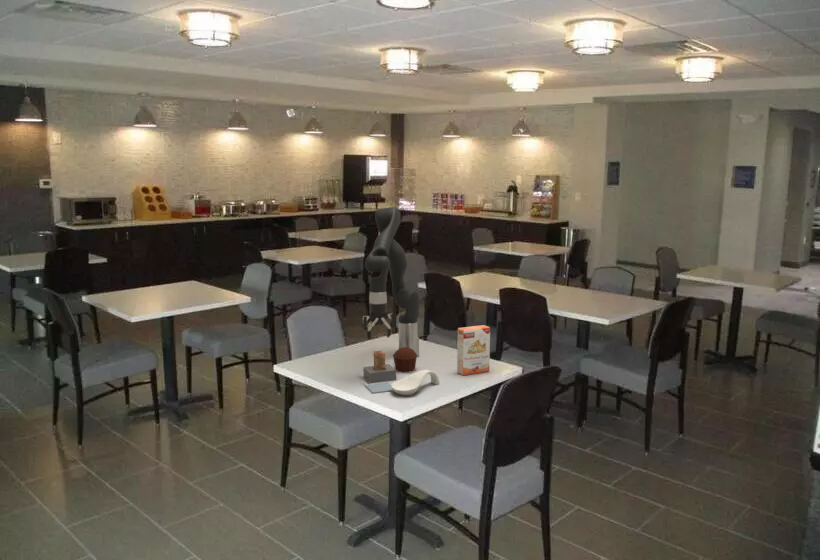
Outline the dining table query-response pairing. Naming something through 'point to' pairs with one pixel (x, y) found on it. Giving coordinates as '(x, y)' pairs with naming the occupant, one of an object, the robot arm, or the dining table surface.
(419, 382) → the spoon rest
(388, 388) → the rubber mat
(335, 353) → the dining table surface
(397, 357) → the muffin
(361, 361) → the dining table surface
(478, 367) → the cracker box
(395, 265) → the robot arm
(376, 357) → the walnut plug
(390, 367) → the block
